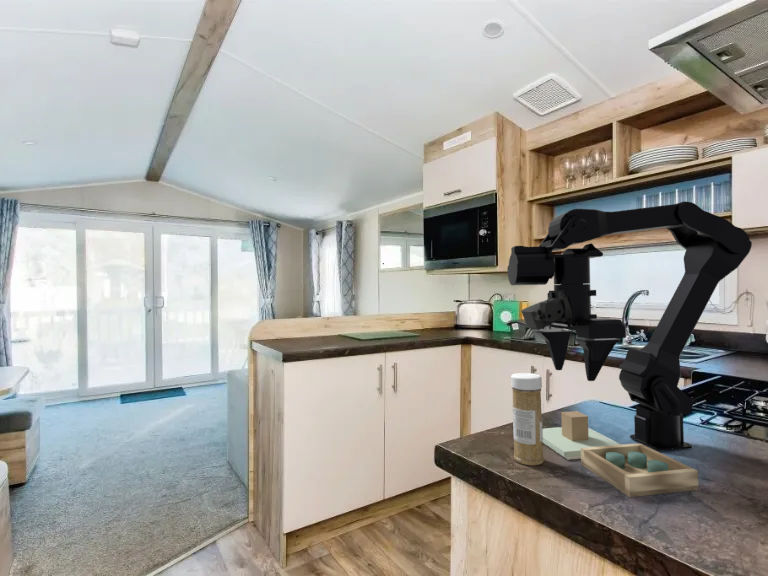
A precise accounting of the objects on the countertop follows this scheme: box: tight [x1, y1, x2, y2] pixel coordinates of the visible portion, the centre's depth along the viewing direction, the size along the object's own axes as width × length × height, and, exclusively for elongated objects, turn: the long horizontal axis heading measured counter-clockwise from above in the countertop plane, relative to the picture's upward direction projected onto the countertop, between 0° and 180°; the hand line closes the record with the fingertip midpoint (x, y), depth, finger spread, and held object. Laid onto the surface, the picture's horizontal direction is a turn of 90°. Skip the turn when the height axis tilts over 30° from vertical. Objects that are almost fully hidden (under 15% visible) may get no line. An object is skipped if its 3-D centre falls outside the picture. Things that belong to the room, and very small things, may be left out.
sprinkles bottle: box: [510, 372, 545, 466], centre depth 64 cm, size 5×5×13 cm
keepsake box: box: [580, 442, 699, 498], centre depth 58 cm, size 10×10×2 cm
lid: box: [543, 410, 622, 458], centre depth 70 cm, size 11×11×5 cm
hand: (573, 375), depth 70 cm, fingers open, 9 cm apart
